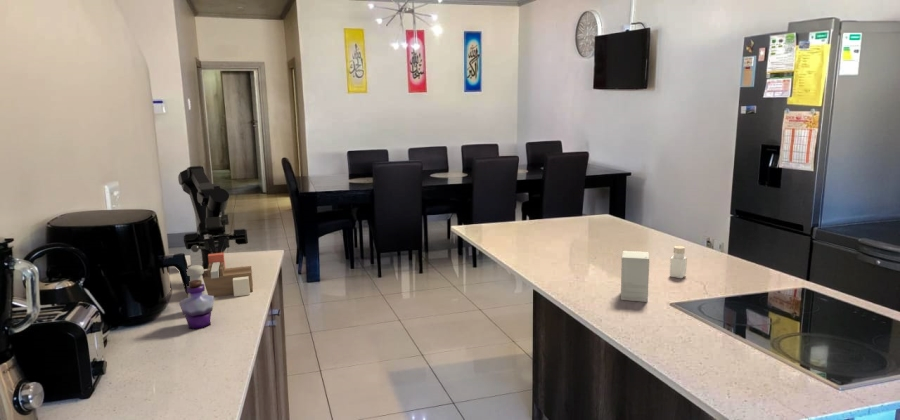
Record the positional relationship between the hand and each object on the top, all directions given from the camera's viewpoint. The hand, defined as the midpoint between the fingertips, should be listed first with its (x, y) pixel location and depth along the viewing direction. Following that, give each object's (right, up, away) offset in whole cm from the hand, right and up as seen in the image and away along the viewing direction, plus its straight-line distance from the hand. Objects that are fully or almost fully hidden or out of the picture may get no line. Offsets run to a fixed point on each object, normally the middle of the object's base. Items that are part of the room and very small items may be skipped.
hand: (217, 261), depth 181 cm
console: (+3, -9, -4) cm, 10 cm away
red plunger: (+2, -4, -6) cm, 7 cm away
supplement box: (+125, -9, -17) cm, 127 cm away
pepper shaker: (+144, -5, +1) cm, 145 cm away
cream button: (+11, -9, -8) cm, 16 cm away
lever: (-2, -3, -10) cm, 11 cm away
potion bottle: (+8, -14, -31) cm, 35 cm away
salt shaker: (+3, -12, -21) cm, 24 cm away
